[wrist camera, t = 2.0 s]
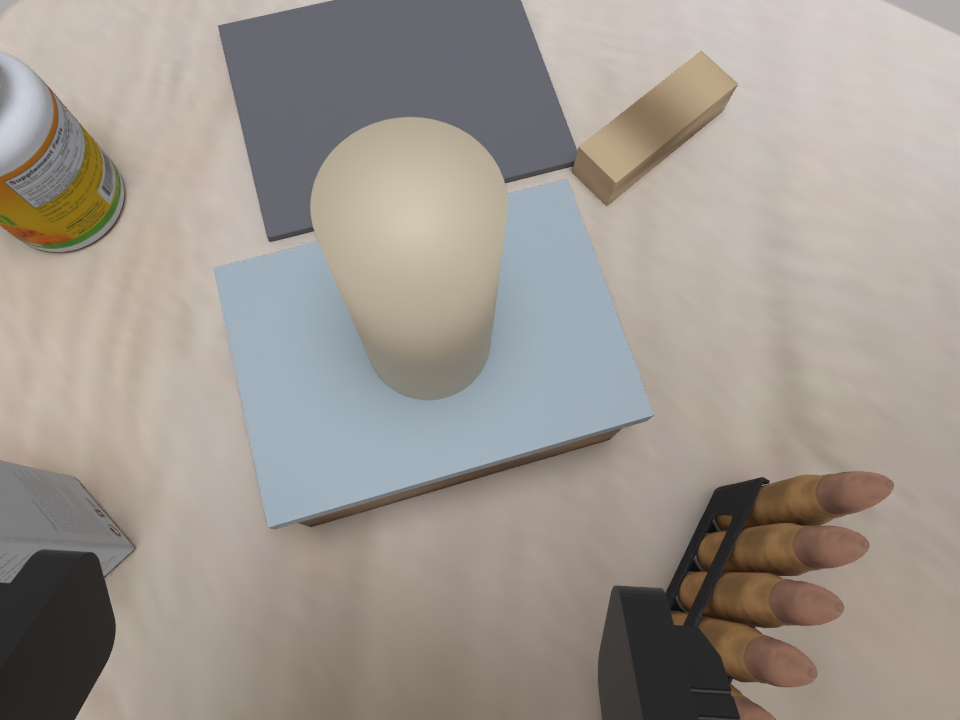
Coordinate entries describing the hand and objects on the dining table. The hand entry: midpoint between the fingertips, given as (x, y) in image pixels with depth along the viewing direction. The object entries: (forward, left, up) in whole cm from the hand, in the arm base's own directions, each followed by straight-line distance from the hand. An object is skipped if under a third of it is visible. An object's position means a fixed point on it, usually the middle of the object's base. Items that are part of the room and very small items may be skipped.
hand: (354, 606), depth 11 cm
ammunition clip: (-10, +4, -19) cm, 22 cm away
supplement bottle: (+11, -21, -19) cm, 30 cm away
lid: (-3, -8, -13) cm, 16 cm away
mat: (-5, -22, -18) cm, 30 cm away
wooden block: (-16, -17, -19) cm, 30 cm away
